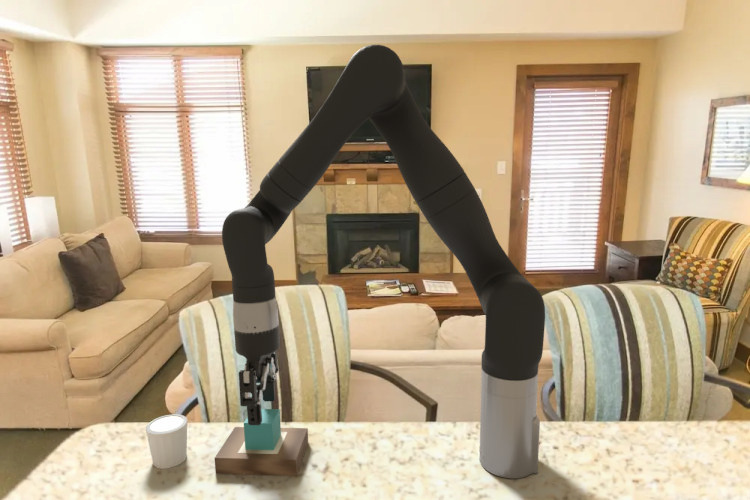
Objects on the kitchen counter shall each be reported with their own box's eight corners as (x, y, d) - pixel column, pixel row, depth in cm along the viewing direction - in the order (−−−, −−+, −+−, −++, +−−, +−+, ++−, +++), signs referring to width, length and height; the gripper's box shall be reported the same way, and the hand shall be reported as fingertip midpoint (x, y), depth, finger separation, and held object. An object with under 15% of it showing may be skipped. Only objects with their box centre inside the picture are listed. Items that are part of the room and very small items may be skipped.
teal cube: (280, 434, 89) (279, 409, 88) (273, 450, 84) (272, 423, 83) (254, 434, 89) (252, 408, 88) (245, 449, 84) (243, 422, 83)
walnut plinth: (308, 442, 91) (307, 428, 91) (296, 475, 81) (295, 459, 81) (235, 441, 92) (234, 426, 92) (215, 473, 82) (214, 457, 82)
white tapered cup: (175, 472, 83) (172, 435, 82) (140, 468, 84) (136, 431, 83) (198, 450, 89) (195, 415, 88) (165, 446, 91) (161, 412, 90)
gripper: (266, 337, 75) (272, 433, 78) (287, 311, 89) (292, 393, 92) (219, 338, 76) (227, 433, 78) (248, 312, 90) (254, 393, 92)
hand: (262, 411), depth 85 cm, fingers open, 8 cm apart
